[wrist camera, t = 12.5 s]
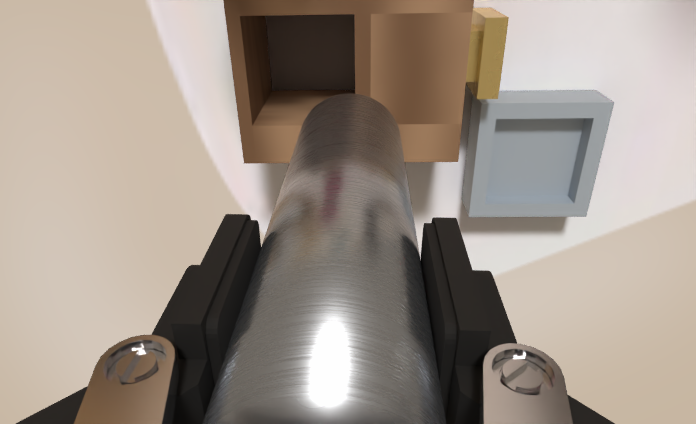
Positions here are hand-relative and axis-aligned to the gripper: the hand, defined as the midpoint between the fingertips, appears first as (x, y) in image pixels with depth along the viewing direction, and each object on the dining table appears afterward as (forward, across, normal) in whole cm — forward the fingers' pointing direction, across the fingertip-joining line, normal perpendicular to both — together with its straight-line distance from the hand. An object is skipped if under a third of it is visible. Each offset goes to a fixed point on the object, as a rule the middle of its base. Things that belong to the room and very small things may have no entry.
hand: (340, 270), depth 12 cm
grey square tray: (+23, -12, +6) cm, 26 cm away
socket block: (+23, 0, -1) cm, 23 cm away
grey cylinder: (+8, 0, 0) cm, 8 cm away
